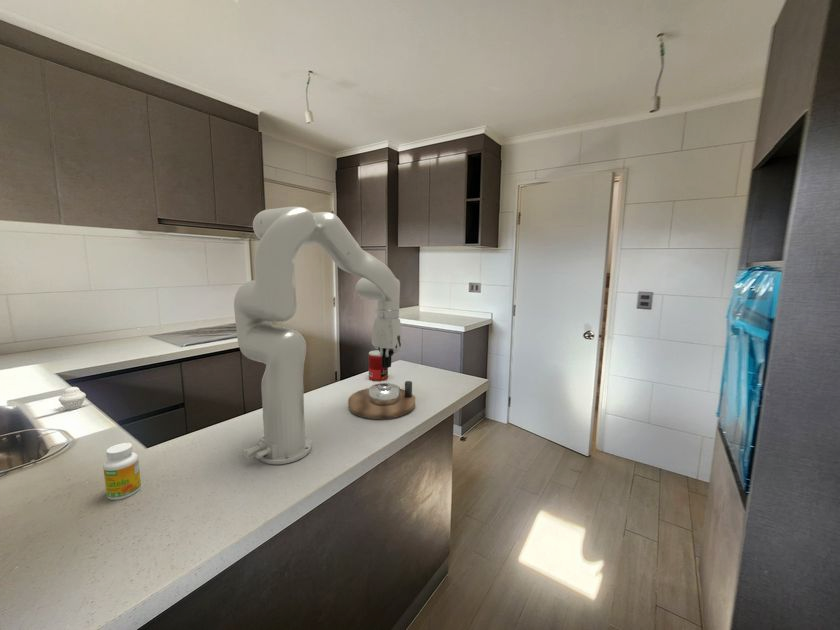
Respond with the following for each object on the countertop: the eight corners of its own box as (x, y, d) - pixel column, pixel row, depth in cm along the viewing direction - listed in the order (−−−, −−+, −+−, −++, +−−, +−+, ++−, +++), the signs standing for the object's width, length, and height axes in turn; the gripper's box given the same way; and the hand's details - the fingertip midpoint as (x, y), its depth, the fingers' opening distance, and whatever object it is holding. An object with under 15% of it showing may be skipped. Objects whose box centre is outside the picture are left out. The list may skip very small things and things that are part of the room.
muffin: (80, 410, 110) (77, 389, 109) (55, 413, 108) (52, 391, 107) (91, 403, 116) (88, 382, 115) (67, 405, 114) (64, 384, 112)
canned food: (384, 382, 140) (384, 355, 139) (365, 380, 142) (365, 354, 140) (390, 376, 148) (390, 350, 146) (372, 374, 149) (372, 349, 148)
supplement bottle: (102, 503, 68) (96, 457, 67) (113, 487, 73) (107, 443, 72) (136, 496, 70) (131, 451, 69) (144, 481, 75) (140, 439, 74)
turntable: (350, 421, 104) (350, 399, 103) (346, 394, 125) (346, 376, 124) (422, 414, 109) (422, 393, 108) (406, 390, 130) (407, 372, 129)
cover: (371, 407, 110) (371, 391, 109) (367, 395, 119) (367, 381, 118) (402, 404, 112) (403, 389, 112) (396, 393, 122) (396, 379, 121)
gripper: (364, 313, 121) (363, 365, 123) (397, 317, 112) (395, 373, 114) (379, 311, 127) (377, 361, 129) (412, 315, 118) (410, 369, 120)
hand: (386, 367), depth 121 cm, fingers closed
